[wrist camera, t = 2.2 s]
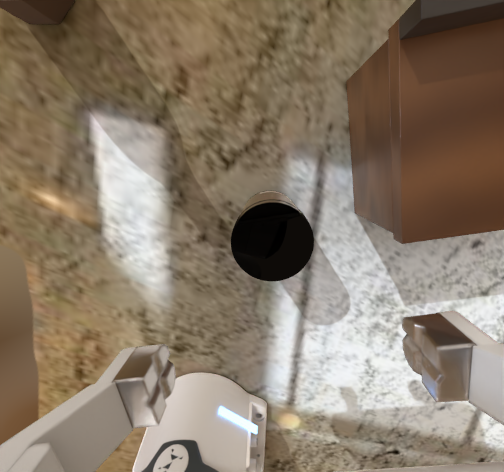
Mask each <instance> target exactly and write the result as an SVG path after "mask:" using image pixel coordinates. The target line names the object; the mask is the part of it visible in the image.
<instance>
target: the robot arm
mask: <svg viewBox="0 0 504 472" xmlns="http://www.w3.org/2000/svg"><path fill="white" fill-rule="evenodd" d="M402 328H403V330H404V331H405V332H406V333H407V335H406V336H405V337H404V339H403V350H404V354H405V357H406V360H407V362H408V363H409V365H410V367H411V368H412V369H413V371H415V372H416V373H418V374H420V375H422V383H423V385H424V386H425V387H426V389H427V390H428V392H429V393H430V394H431V396H432V397H433V398H434V400H435V401H436V402H450V401H468V400H469V403H471V404H472V405H474V406H475V407H477V408H478V409H480V410H481V411H483V412H485V413H486V414H488V415H489V416H491V417H492V418H494V419H495V420H497V421H498V422H500V423H501V424H503V425H504V343H498V342H496V341H495V340H494V339H492V338H491V337H490V336H488V335H487V334H486V333H484V332H483V331H482V330H480V329H479V328H478V327H476V326H475V325H474V324H472V323H471V322H470V321H469V320H467V319H466V318H465V317H463V316H462V315H461V314H459V313H458V312H455V311H446V312H439V313H436V314H428V315H420V316H411V317H404V319H403V322H402ZM169 355H170V352H169V349H168V346H167V345H165V344H161V345H150V346H139V347H130V348H125V349H123V350H121V351H120V353H119V354H118V355H117V357H116V358H115V359H114V360H113V362H112V363H111V364H110V366H109V367H108V368H107V369H106V371H105V372H104V373H103V375H102V376H101V377H100V379H99V380H98V381H97V382H96V384H93V385H89V386H88V387H87V388H85V389H84V390H82V391H81V392H79V393H78V394H76V395H75V396H73V397H72V398H70V399H69V400H67V401H66V402H64V403H63V404H61V405H60V406H58V407H57V408H55V409H54V410H52V411H51V412H49V413H48V414H46V415H45V416H43V417H42V418H40V419H39V420H37V421H36V422H34V423H33V424H31V425H30V426H28V427H27V428H25V429H24V430H22V431H21V432H19V433H18V434H16V435H15V436H14V437H12V438H10V439H9V440H7V441H6V442H4V443H3V444H1V445H0V472H95V471H96V470H97V469H98V468H99V467H100V465H101V464H102V463H103V462H104V461H105V460H106V459H107V458H108V457H109V456H110V455H111V453H112V452H113V451H114V450H115V449H116V448H117V447H118V446H119V445H120V444H121V443H122V441H123V440H124V439H125V438H126V437H127V436H128V435H129V434H130V433H131V432H132V431H133V428H142V427H147V430H146V432H145V435H144V438H143V441H142V444H141V446H140V449H139V452H138V455H137V458H136V461H135V463H134V467H133V472H263V471H264V458H265V439H266V421H267V403H266V402H265V401H264V400H263V399H261V398H259V397H256V396H254V395H251V394H249V393H247V392H246V391H245V390H243V389H242V388H241V387H240V386H239V385H238V384H236V383H235V382H233V381H232V380H230V379H228V378H226V377H223V376H220V375H217V374H213V373H204V372H198V373H190V374H186V375H183V376H180V377H178V378H176V375H175V368H174V365H173V363H171V362H170V361H169V360H168V358H169ZM175 378H176V379H175ZM339 472H504V461H498V462H482V463H466V464H450V465H434V466H419V467H403V468H387V469H371V470H355V471H339Z"/></svg>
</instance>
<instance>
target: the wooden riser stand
mask: <svg viewBox="0 0 504 472" xmlns="http://www.w3.org/2000/svg"><path fill="white" fill-rule="evenodd" d="M347 97H348V113H349V129H350V144H351V160H352V176H353V191H354V207H355V213H356V214H358V215H360V216H362V217H364V218H366V219H367V220H369V221H371V222H373V223H375V224H377V225H379V226H381V227H383V228H385V229H386V230H388V231H390V232H392V233H394V239H395V240H396V241H398V242H400V243H402V244H405V243H412V242H419V241H426V240H433V239H440V238H448V237H455V236H462V235H469V234H476V233H483V232H490V231H498V230H504V0H416V1H415V2H414V3H413V4H412V5H411V6H410V7H409V8H408V10H407V11H406V12H405V13H404V14H403V15H402V16H401V17H400V18H399V19H398V20H397V21H396V23H395V24H394V25H393V26H392V27H391V28H390V29H389V39H388V40H387V41H386V42H385V43H384V44H383V45H382V46H381V47H380V48H379V49H378V50H377V51H376V52H375V53H374V54H373V55H372V56H371V57H370V58H369V59H368V60H367V61H366V62H365V63H364V64H363V65H362V66H361V67H360V68H359V69H358V70H357V71H356V72H355V73H354V74H353V75H352V76H351V77H350V78H349V79H348V80H347Z"/></svg>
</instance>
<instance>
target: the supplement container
mask: <svg viewBox="0 0 504 472" xmlns="http://www.w3.org/2000/svg"><path fill="white" fill-rule="evenodd" d="M313 246H314V237H313V232H312V229H311V226H310V224H309V222H308V221H307V219H306V218H305V216H304V215H303V213H302V212H301V211H300V210H299V209H298V208H297V207H296V206H295V204H294V203H293V202H292V201H291V199H290V198H288V197H287V196H286V195H284V194H282V193H280V192H277V191H263V192H260V193H257V194H255V195H254V196H253V197H251V198H250V199H249V200H248V201H247V203H246V204H245V206H244V208H243V210H242V212H241V214H240V216H239V217H238V219H237V221H236V223H235V226H234V228H233V231H232V236H231V248H232V253H233V256H234V258H235V260H236V262H237V263H238V265H239V266H240V267H241V268H242V269H243V270H244V271H245V272H246V273H248V274H249V275H251V276H252V277H255V278H257V279H260V280H264V281H280V280H284V279H287V278H290V277H292V276H294V275H295V274H297V273H298V272H299V271H301V270H302V269H303V268H304V266H305V265H306V264H307V263H308V261H309V259H310V257H311V254H312V251H313Z"/></svg>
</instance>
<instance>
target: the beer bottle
mask: <svg viewBox="0 0 504 472" xmlns="http://www.w3.org/2000/svg"><path fill="white" fill-rule="evenodd" d="M74 1H75V0H0V7H1V8H2V9H4V10H6V11H7V12H9V13H11V14H12V15H14V16H16V17H18V18H20V19H22V20H23V21H25V22H27V23H29V24H60V23H61V21H62V20H63V18H64V17H65V15H66V13H67V12H68V10H69V9H70V7H71V6H72V4H73V3H74Z"/></svg>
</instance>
